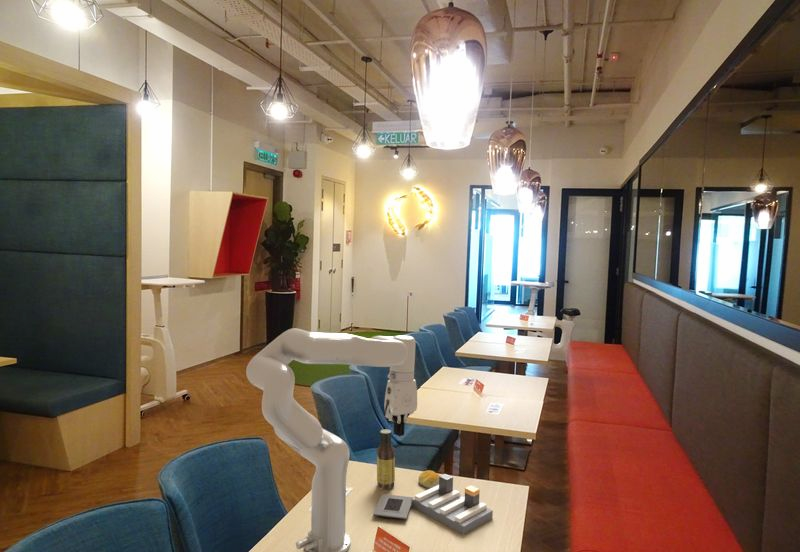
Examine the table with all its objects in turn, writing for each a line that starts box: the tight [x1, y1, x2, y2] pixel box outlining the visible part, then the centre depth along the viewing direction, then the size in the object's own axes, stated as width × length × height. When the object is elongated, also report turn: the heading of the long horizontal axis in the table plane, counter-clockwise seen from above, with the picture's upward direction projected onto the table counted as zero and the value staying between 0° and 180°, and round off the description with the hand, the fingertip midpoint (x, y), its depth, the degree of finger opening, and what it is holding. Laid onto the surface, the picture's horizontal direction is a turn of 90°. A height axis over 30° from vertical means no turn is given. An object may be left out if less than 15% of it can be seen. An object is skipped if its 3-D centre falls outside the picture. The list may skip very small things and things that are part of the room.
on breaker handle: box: [439, 473, 454, 495], centre depth 175 cm, size 3×4×6 cm
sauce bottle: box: [376, 429, 396, 490], centre depth 184 cm, size 6×6×20 cm
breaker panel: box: [411, 485, 494, 536], centre depth 168 cm, size 14×22×4 cm, turn 43°
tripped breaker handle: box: [464, 484, 481, 508], centre depth 167 cm, size 3×4×6 cm
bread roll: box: [418, 469, 441, 489], centre depth 188 cm, size 8×9×4 cm
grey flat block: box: [372, 493, 414, 520], centre depth 169 cm, size 13×10×2 cm
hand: (398, 434), depth 163 cm, fingers closed
